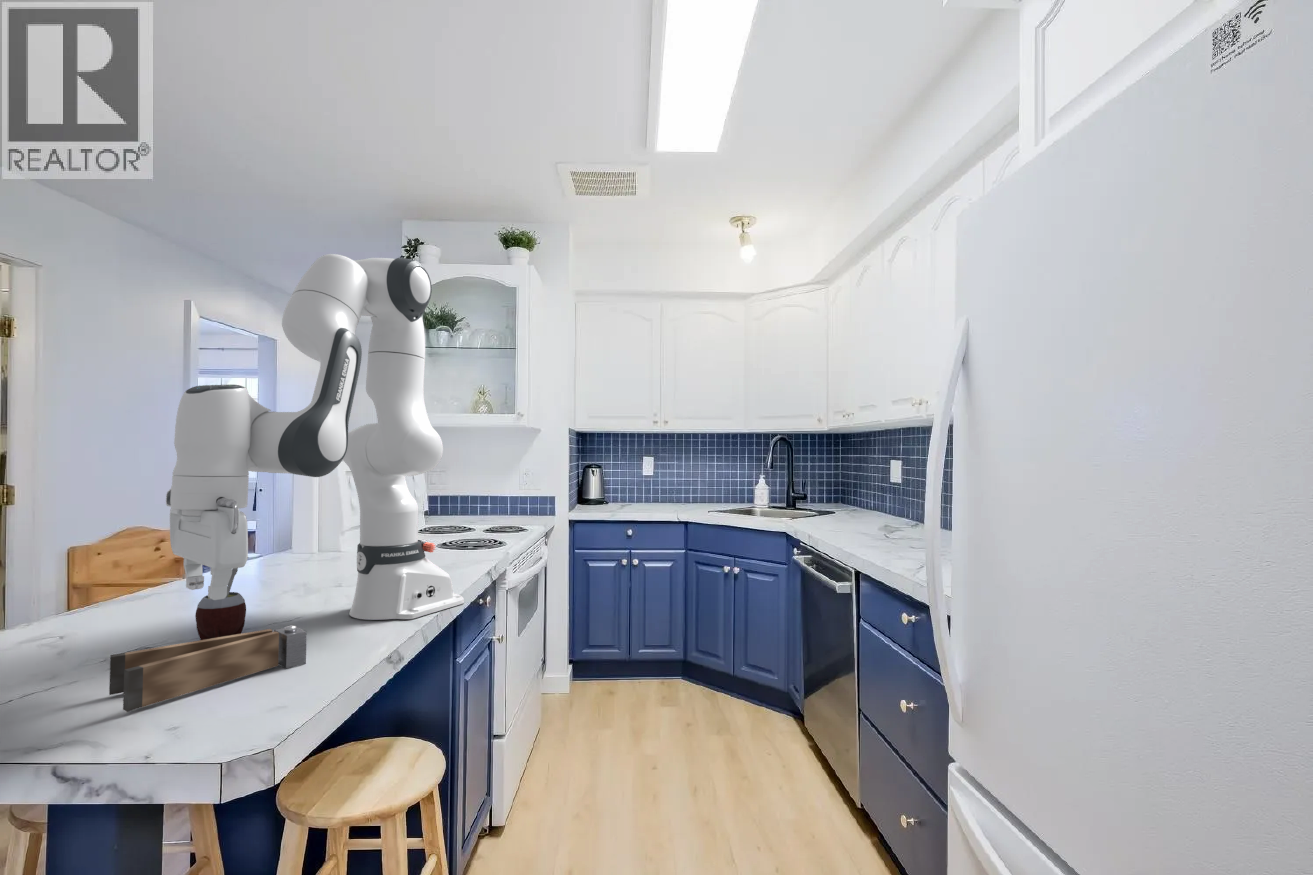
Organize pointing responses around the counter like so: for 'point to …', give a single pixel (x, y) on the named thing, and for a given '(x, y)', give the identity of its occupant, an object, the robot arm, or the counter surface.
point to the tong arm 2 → (198, 670)
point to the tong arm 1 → (164, 655)
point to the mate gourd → (221, 614)
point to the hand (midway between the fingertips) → (205, 593)
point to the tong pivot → (291, 646)
